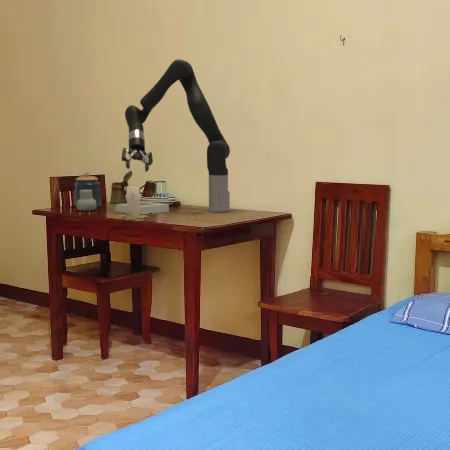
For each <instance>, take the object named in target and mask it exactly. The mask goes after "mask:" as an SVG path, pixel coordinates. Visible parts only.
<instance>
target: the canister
mask: <svg viewBox="0 0 450 450" xmlns="http://www.w3.org/2000/svg"><path fill="white" fill-rule="evenodd" d="M98 180H99V178H98V177H96V176H93V175H90V172H88V171H86V172H84V174H83V176H81V175H80V176H78V177H76V178H75V181H76V182H75V183H73V185H74V187H75V189H74V205H75V208H77V200H79V199H80V190H92V198H93V199H94V200H95V201H96V208H99V207H101V204H102V202H101V189H100V186H101V183H100V181H98Z"/></svg>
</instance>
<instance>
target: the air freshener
mask: <svg viewBox="0 0 450 450" xmlns="http://www.w3.org/2000/svg"><path fill="white" fill-rule="evenodd" d="M76 209H77V210H78V211H79V212H93V211H95V210H96V209H97V207H96V201H95V200H94V199H93V198H92V190H80V199H79V200H77V207H76Z"/></svg>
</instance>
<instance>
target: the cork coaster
mask: <svg viewBox="0 0 450 450" xmlns="http://www.w3.org/2000/svg"><path fill="white" fill-rule="evenodd" d="M118 217H119V218H122V219H127V220H128V219H129V220H136V218H137V219H145V218H144V217H147V218H149V215H146V214H142V215H140V216H137V217H129V216H127V214H125V215H119V216H118Z"/></svg>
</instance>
